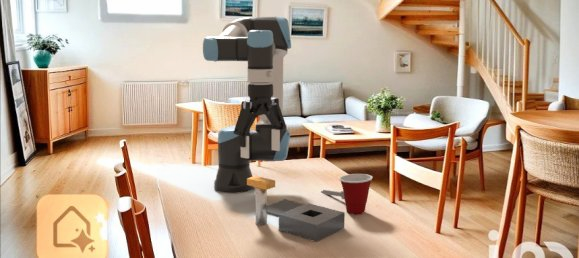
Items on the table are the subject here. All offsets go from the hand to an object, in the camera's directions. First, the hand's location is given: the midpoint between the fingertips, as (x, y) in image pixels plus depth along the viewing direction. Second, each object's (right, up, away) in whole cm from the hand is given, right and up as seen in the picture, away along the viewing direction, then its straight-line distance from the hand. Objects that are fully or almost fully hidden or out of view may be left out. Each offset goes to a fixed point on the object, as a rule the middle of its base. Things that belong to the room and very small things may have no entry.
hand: (260, 154), depth 165 cm
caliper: (+26, -18, +28) cm, 42 cm away
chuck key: (0, -22, +4) cm, 22 cm away
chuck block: (+15, -23, -1) cm, 27 cm away
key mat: (+9, -19, +16) cm, 27 cm away
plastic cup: (+30, -20, +15) cm, 39 cm away
